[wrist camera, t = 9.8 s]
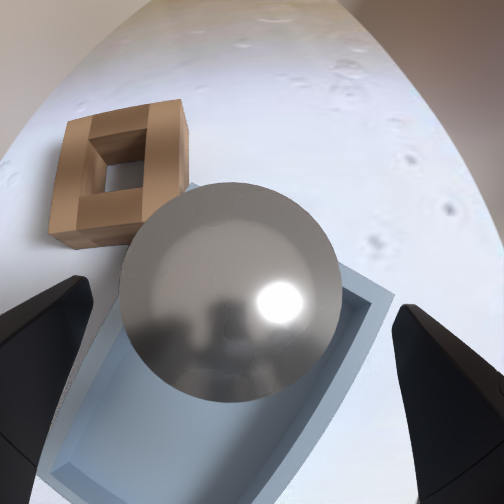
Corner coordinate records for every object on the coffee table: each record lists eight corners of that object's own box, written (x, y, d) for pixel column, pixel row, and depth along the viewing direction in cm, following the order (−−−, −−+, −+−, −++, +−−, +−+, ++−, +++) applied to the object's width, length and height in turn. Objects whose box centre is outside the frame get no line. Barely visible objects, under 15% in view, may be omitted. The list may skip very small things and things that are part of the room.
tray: (211, 547, 14) (207, 576, 10) (60, 456, 15) (33, 472, 12) (370, 301, 18) (394, 294, 15) (200, 207, 20) (191, 182, 16)
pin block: (190, 238, 19) (179, 218, 16) (75, 249, 19) (48, 234, 15) (188, 130, 21) (180, 99, 18) (87, 147, 21) (67, 121, 17)
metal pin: (247, 369, 16) (243, 446, 4) (201, 331, 17) (80, 297, 4) (285, 324, 17) (382, 270, 4) (239, 287, 17) (218, 147, 5)
